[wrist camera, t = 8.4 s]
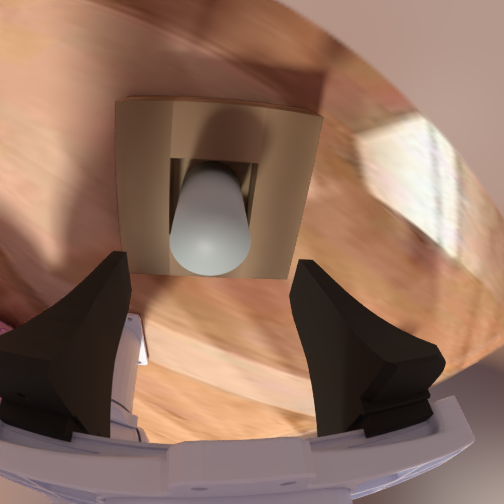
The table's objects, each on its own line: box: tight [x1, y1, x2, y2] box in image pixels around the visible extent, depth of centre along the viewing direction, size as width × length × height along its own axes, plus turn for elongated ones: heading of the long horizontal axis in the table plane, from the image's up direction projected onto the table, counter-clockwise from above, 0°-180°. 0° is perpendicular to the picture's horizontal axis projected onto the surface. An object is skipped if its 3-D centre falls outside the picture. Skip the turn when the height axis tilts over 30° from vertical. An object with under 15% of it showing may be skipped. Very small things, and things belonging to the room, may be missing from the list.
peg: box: [170, 161, 251, 276], centre depth 18 cm, size 4×4×7 cm
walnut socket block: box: [115, 96, 324, 279], centre depth 20 cm, size 12×12×3 cm
